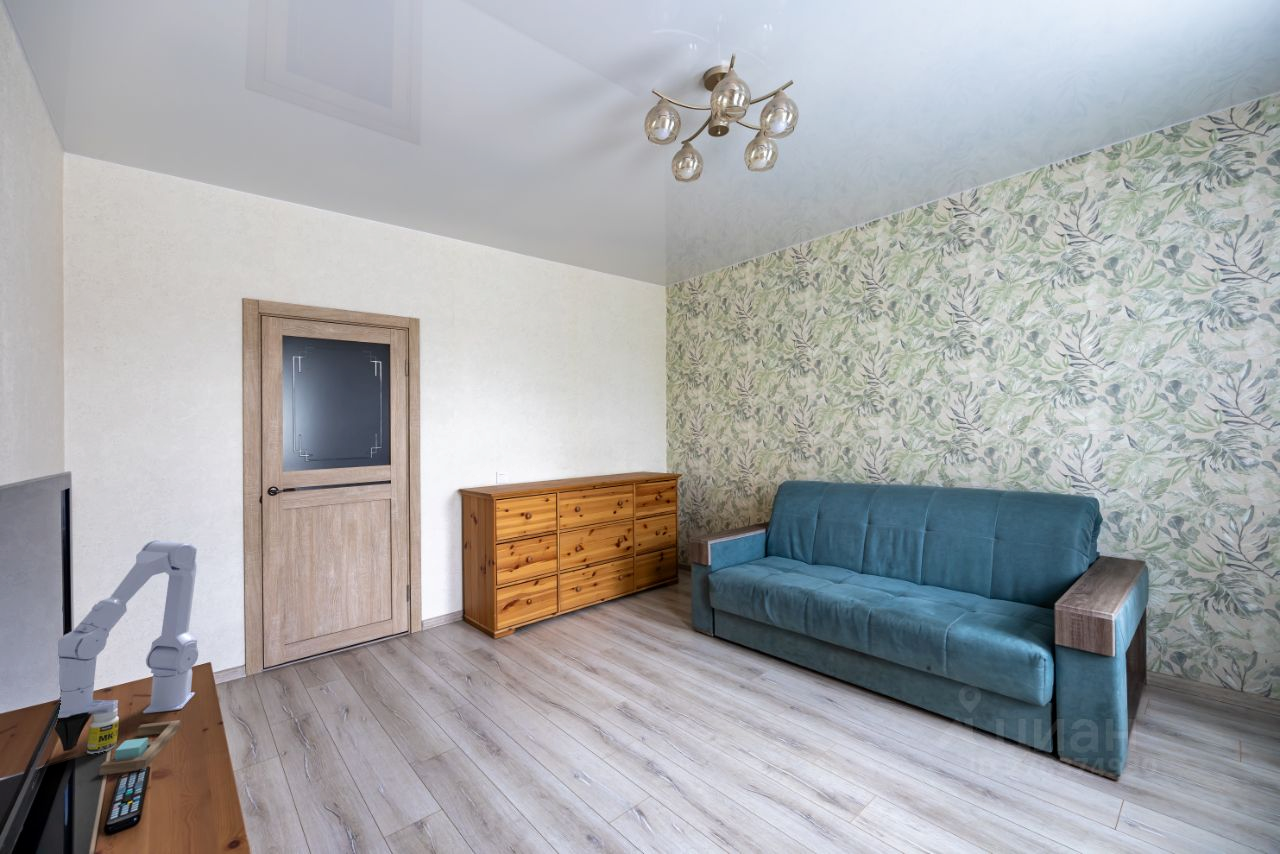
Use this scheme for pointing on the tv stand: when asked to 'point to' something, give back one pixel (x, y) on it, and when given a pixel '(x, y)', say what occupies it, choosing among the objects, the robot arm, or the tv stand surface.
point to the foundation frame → (152, 750)
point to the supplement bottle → (103, 732)
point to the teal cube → (131, 749)
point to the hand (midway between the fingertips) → (70, 748)
